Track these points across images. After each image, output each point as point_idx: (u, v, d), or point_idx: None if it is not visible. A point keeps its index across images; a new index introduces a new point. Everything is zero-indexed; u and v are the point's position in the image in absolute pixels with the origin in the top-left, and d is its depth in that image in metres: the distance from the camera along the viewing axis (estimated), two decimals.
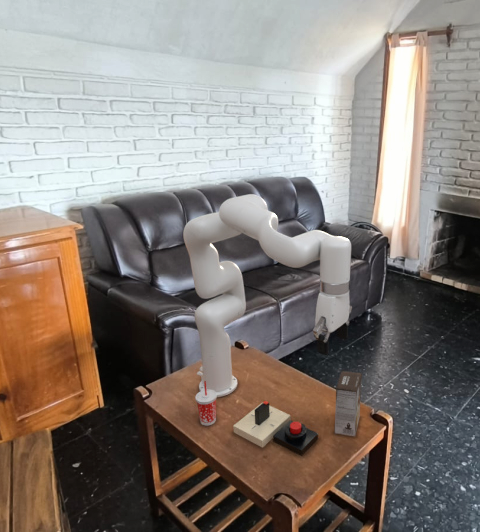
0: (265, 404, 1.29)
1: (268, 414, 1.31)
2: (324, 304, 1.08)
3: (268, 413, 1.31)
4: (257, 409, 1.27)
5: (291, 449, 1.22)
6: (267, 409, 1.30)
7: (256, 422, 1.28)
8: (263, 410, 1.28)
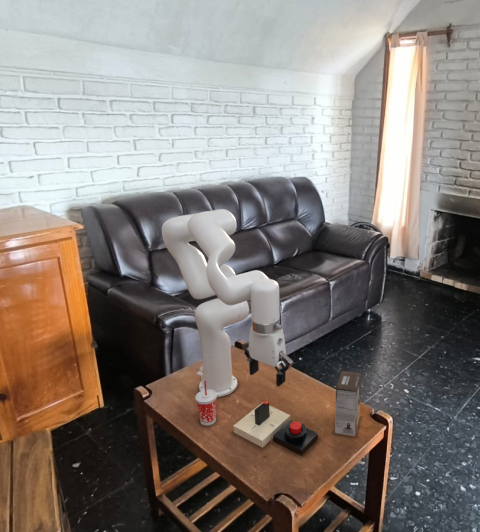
0: (265, 404, 1.29)
1: (268, 414, 1.31)
2: None
3: (268, 413, 1.31)
4: (257, 409, 1.27)
5: (291, 449, 1.22)
6: (267, 409, 1.30)
7: (256, 422, 1.28)
8: (263, 410, 1.28)
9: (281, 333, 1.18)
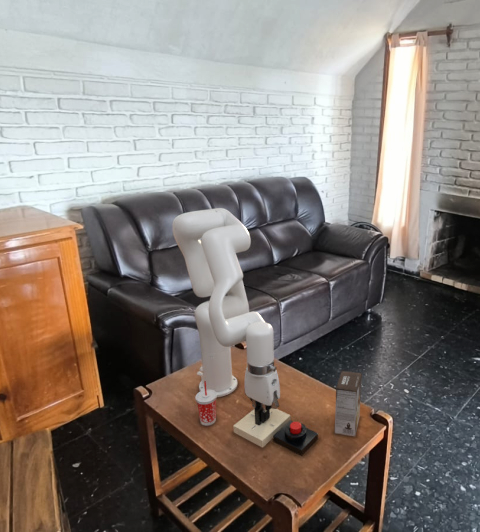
0: None
1: None
2: None
3: None
4: (257, 409, 1.27)
5: (291, 449, 1.22)
6: None
7: (256, 422, 1.28)
8: None
9: (275, 374, 1.23)
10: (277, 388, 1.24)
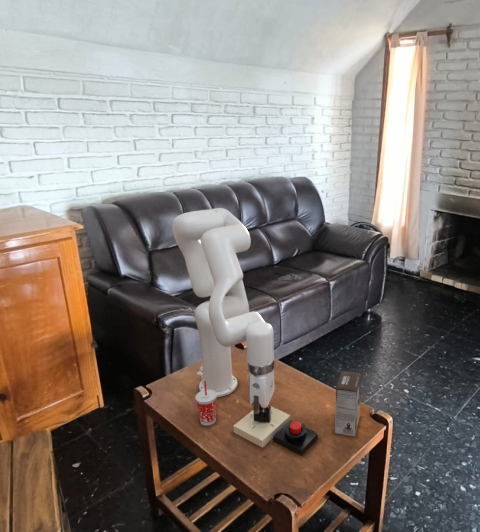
0: None
1: (267, 419, 1.29)
2: None
3: (268, 418, 1.28)
4: None
5: (291, 449, 1.22)
6: None
7: None
8: None
9: (259, 380, 1.20)
10: (260, 395, 1.21)
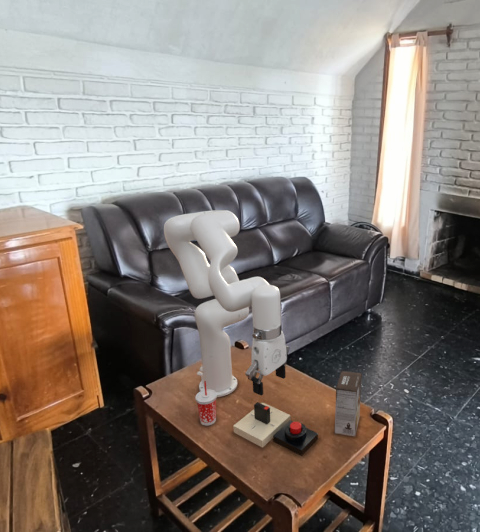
0: (264, 408, 1.27)
1: (265, 420, 1.28)
2: None
3: (265, 419, 1.28)
4: (257, 403, 1.29)
5: (291, 449, 1.22)
6: (264, 414, 1.27)
7: None
8: (259, 409, 1.28)
9: (259, 344, 1.15)
10: (259, 360, 1.16)
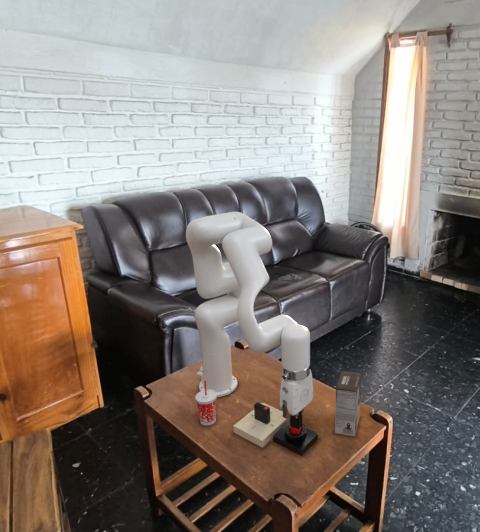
0: (264, 408, 1.27)
1: (265, 420, 1.28)
2: None
3: (265, 419, 1.28)
4: (257, 403, 1.29)
5: (291, 449, 1.22)
6: (264, 414, 1.27)
7: None
8: (259, 409, 1.28)
9: (288, 385, 1.14)
10: (288, 401, 1.15)
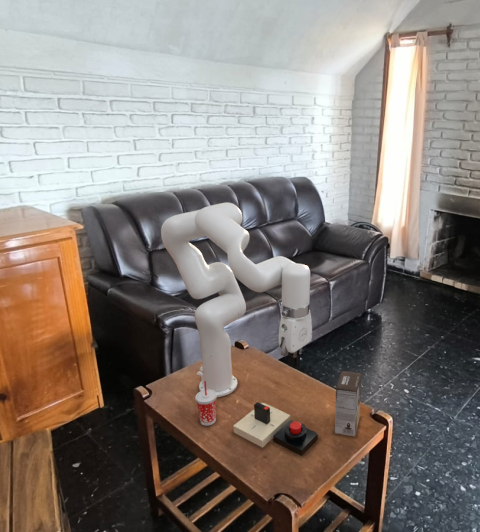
0: (264, 408, 1.27)
1: (265, 420, 1.28)
2: None
3: (265, 419, 1.28)
4: (257, 403, 1.29)
5: (291, 449, 1.22)
6: (264, 414, 1.27)
7: None
8: (259, 409, 1.28)
9: (287, 322, 1.16)
10: (286, 338, 1.17)
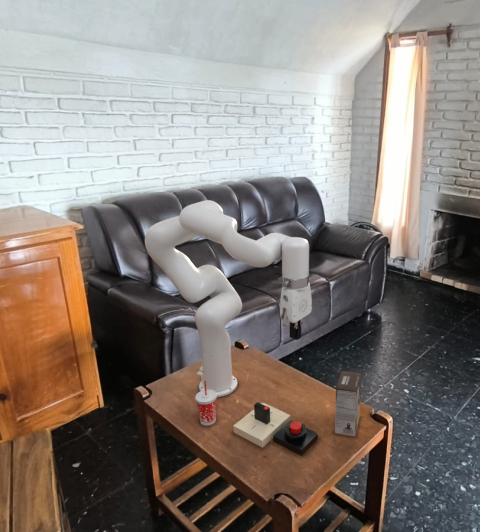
0: (264, 408, 1.27)
1: (265, 420, 1.28)
2: None
3: (265, 419, 1.28)
4: (257, 403, 1.29)
5: (291, 449, 1.22)
6: (264, 414, 1.27)
7: None
8: (259, 409, 1.28)
9: (288, 292, 1.22)
10: (287, 308, 1.23)
